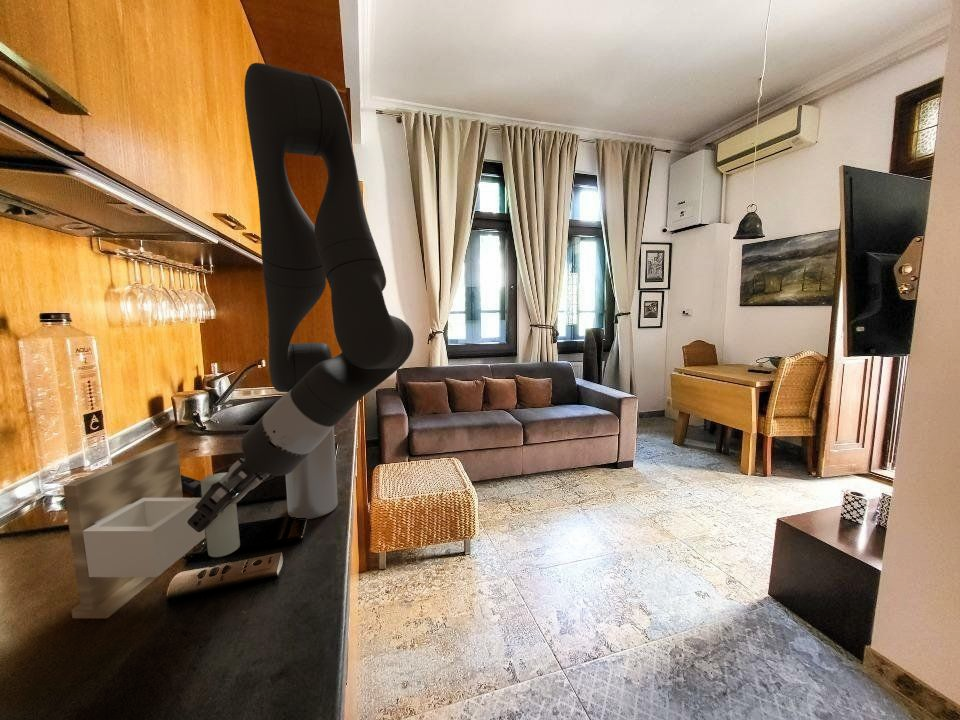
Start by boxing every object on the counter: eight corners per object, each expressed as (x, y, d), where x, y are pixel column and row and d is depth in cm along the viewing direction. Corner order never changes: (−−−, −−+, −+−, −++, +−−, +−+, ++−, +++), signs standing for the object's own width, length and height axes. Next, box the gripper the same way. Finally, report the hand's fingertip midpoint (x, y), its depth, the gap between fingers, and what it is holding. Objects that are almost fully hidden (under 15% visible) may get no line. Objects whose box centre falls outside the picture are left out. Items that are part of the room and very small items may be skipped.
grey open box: (142, 537, 57) (138, 497, 56) (205, 537, 57) (201, 497, 56) (83, 577, 48) (77, 531, 48) (157, 577, 48) (151, 531, 48)
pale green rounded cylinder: (219, 540, 54) (213, 472, 52) (245, 540, 54) (239, 472, 52) (201, 557, 50) (193, 484, 49) (229, 557, 50) (222, 484, 49)
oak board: (171, 543, 65) (160, 441, 63) (198, 543, 65) (187, 441, 63) (72, 618, 50) (53, 485, 47) (107, 618, 50) (89, 485, 47)
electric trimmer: (182, 481, 90) (180, 468, 90) (217, 495, 83) (216, 481, 83) (163, 487, 87) (161, 474, 87) (198, 503, 80) (196, 488, 79)
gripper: (295, 396, 56) (219, 475, 58) (234, 427, 42) (136, 530, 44) (333, 431, 57) (257, 508, 59) (286, 473, 43) (188, 572, 45)
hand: (206, 517), depth 51 cm, fingers closed on pale green rounded cylinder, 3 cm apart
